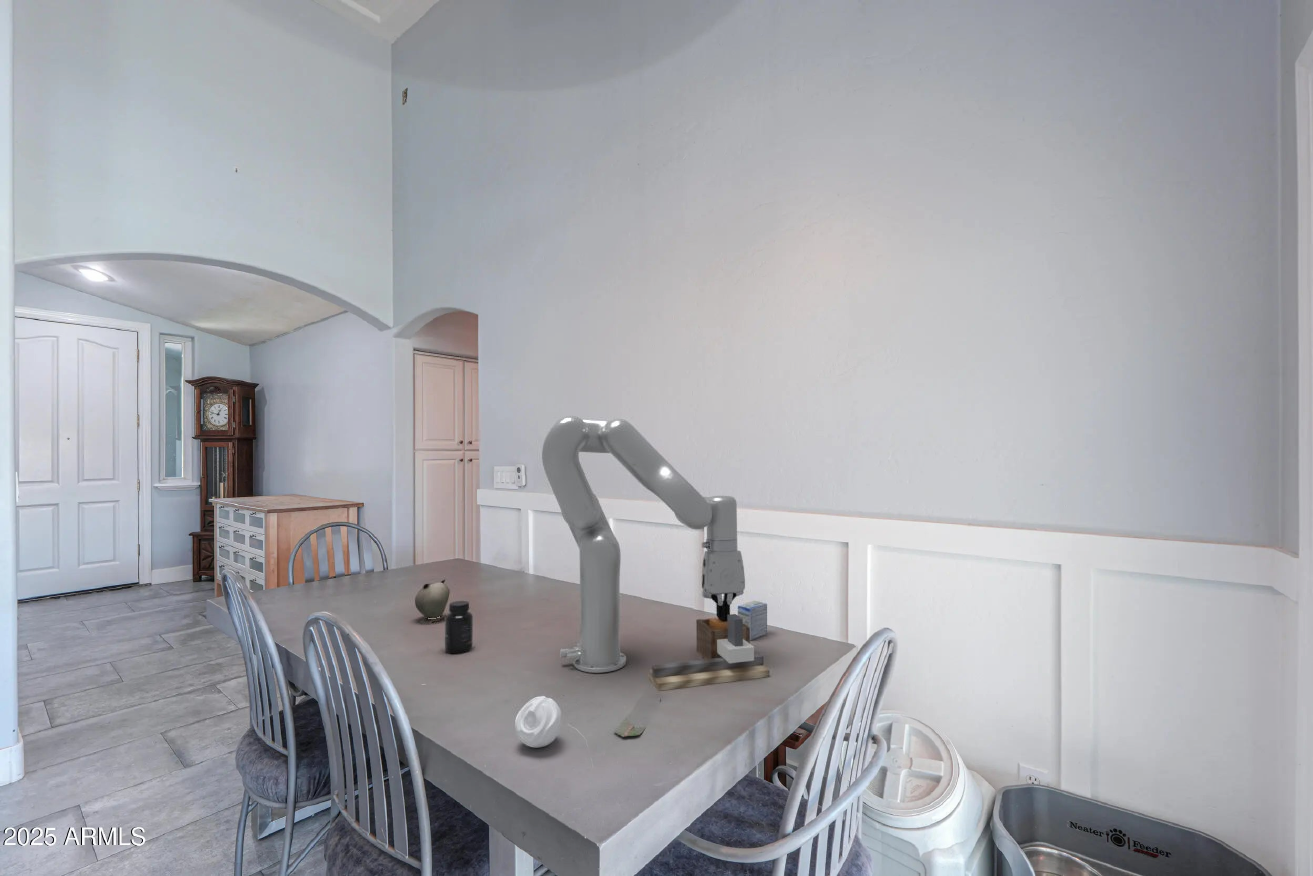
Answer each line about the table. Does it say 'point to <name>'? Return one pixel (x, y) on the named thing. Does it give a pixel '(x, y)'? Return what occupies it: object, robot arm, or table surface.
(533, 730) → the white carved ovoid
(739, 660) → the carriage
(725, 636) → the brown wooden box
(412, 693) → the table surface
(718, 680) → the rail base
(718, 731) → the table surface
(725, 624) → the plunger
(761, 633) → the medicine box
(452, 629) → the supplement bottle
